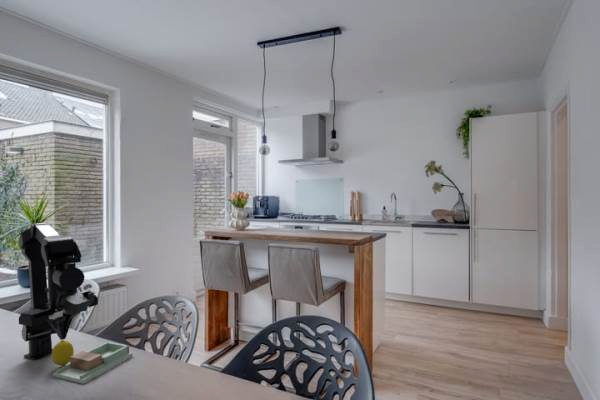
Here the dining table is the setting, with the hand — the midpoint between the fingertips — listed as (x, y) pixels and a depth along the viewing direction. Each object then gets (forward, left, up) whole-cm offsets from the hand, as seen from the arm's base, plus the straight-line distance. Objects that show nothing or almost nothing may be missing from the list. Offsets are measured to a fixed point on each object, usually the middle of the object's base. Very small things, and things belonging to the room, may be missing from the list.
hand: (62, 339), depth 98 cm
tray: (0, +9, -12) cm, 15 cm away
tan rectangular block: (0, +6, -11) cm, 12 cm away
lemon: (-9, +6, -12) cm, 16 cm away
